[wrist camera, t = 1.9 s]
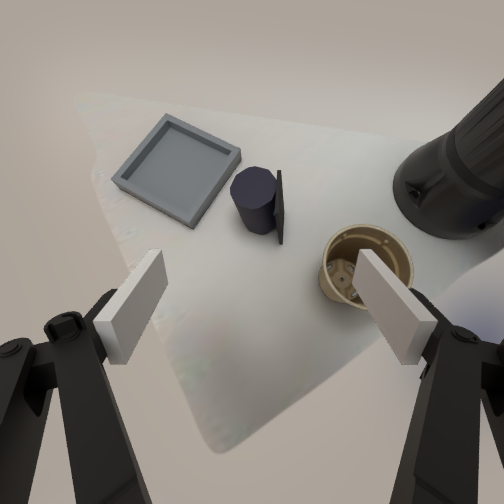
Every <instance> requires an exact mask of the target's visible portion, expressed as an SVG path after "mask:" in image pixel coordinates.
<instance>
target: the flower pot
mask: <svg viewBox="0 0 504 504" xmlns="http://www.w3.org/2000/svg"><path fill="white" fill-rule="evenodd" d="M360 249H372V251H373V252H374V253H375V254H376V255H377V256H378V257H379V258H380V259H381V260H382V261H383V262H384V263H385V265H386V266H387V267H388V268H389V269H390V270H391V271H392V272H393V273H394V274H395V275H396V276H397V277H398V279H399V280H400V281H401V282H402V283H403V284H404V285H405V286H406V287H407V288H411V285H412V282H413V274H414V271H413V264H412V260H411V257H410V255H409V252H408V250H407V249H406V247H405V246H404V245H403V243H402V242H401V241H400V240H399V239H398V238H397V237H396V236H395V235H393V234H391V233H390V232H388V231H386V230H385V229H383V228H380V227H377V226H374V225H367V224H358V225H352V226H348V227H346V228H343V229H342V230H340V231H338V232H337V233H336V234H335V235H334V236H333V237H332V238H331V239H330V240H329V242H328V244H327V245H326V248H325V250H324V254H323V266H322V268H321V270H320V272H319V283H320V287H321V289H322V291H323V292H324V293H325V295H326V296H328V297H329V298H330V299H332V300H334V301H336V302H340V303H348V304H349V305H351V306H353V307H356V308H359V309H362V310H367V311H368V309H367V307H366V306H365V304H364V303H363V301H362V299H361V298H360V296H359V294H358V293H357V294H356V295H355V296H352V294H353V293H354V292H355V291H356V290H355V288H354V286H353V285H352V280H353V276H354V271H353V270H351V268H350V267H349V266H351V267H353V268H354V269H355V267H356V263H357V259H358V254H359V250H360ZM329 265H332V267H331V268H330V269H329V270H328V271H327V266H329ZM341 278H343V279H344V280H343V281H341Z"/></svg>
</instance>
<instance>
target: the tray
mask: <svg viewBox="0 0 504 504" xmlns="http://www.w3.org/2000/svg"><path fill="white" fill-rule="evenodd" d="M240 161H241V149H240V148H238V147H235V146H233V145H231V144H229V143H227V142H225V141H223V140H221V139H219V138H217V137H215V136H213V135H211V134H208V133H206V132H204V131H202V130H200V129H198V128H196V127H194V126H192V125H190V124H188V123H186V122H183V121H181V120H179V119H177V118H175V117H173V116H171V115H169V114H167V113H166V114H165V115H164V116H163V117H162V118H161V120H160V121H159V122H158V123H157V124H156V126H155V127H154V128H153V129H152V130H151V132H150V133H149V134H148V135H147V136H146V138H145V139H144V140H143V141H142V142H141V143H140V145H139V146H138V147H137V148H136V149H135V151H134V152H133V153H132V154H131V155H130V157H129V158H128V159H127V160H126V161H125V163H124V164H123V165H122V166H121V167H120V169H119V170H118V171H117V172H116V173H115V174H114V176H113V177H112V178H111V180H112V181H113V182H114V183H115V184H116V185H117V186H118V187H119V188H120V189H122V190H124V191H125V192H127V193H129V194H131V195H132V196H134V197H136V198H138V199H140V200H141V201H143V202H145V203H147V204H149V205H150V206H152V207H154V208H156V209H158V210H159V211H161V212H163V213H165V214H167V215H168V216H170V217H172V218H174V219H176V220H177V221H179V222H181V223H183V224H185V225H186V226H188V227H190V228H192V229H194V228H195V226H196V225H197V223H198V222H199V221H200V219H201V218H202V216H203V215H204V213H205V212H206V210H207V209H208V207H209V206H210V205H211V203H212V202H213V200H214V199H215V197H216V196H217V194H218V193H219V191H220V190H221V189H222V187H223V186H224V184H225V183H226V181H227V180H228V178H229V177H230V176H231V174H232V173H233V171H234V170H235V168H236V167H237V165H238V164H239V162H240Z"/></svg>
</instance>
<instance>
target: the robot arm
mask: <svg viewBox="0 0 504 504" xmlns="http://www.w3.org/2000/svg"><path fill="white" fill-rule="evenodd" d="M393 190H394V195H395V199H396V201H397V204H398V206H399V207H400V209H401V211H402V212H403V213H404V215H405V216H406V217H407V218H408V219H409V220H410V221H411V222H412V223H413V224H414V225H416V226H417V227H418V228H420V229H422V230H423V231H425V232H427V233H429V234H432V235H434V236H437V237H441V238H446V239H464V238H468V237H472V236H474V235H477V234H479V233H482V232H484V231H486V230H488V229H490V228H492V227H493V226H495V225H496V224H498V223H499V222H500V221H501V220H502V219H503V218H504V79H503V80H502V81H501V82H500V83H499V84H498V85H497V86H496V87H495V88H494V89H493V90H492V91H491V92H490V93H489V94H488V95H487V96H486V97H485V98H484V99H483V100H482V101H481V102H480V103H479V104H478V105H476V106H475V107H474V108H473V110H471V111H470V112H469V113H468V114H467V115H466V116H465V117H464V118H463V119H462V120H461V122H460V123H458V124H457V125H456V126H455V127H454V128H453V129H452V130H451V131H449V132H447V133H446V134H444V135H442V136H440V137H438V138H436V139H434V140H432V141H431V142H429V143H427V144H425V145H423V146H421V147H420V148H418V149H416V150H415V151H414V152H412V153H411V154H410V155H409V156H408V157H407V158H406V160H405V161H404V162H403V163H402V164H401V165H400V166H399V168H398V170H397V171H396V174H395V177H394V182H393ZM167 285H168V280H167V275H166V269H165V264H164V259H163V254H162V249H150V250H149V251H148V252H147V254H146V255H145V256H144V257H143V259H142V260H141V261H140V262H139V264H138V265H137V266H136V267H135V269H134V270H133V271H132V272H131V274H130V275H129V276H128V277H127V279H126V280H125V281H124V282H123V284H122V285H121V286H120V288H119V289H111V290H110V291H108V292H107V293H105V294H104V295H103V296H102V297H101V298H100V299H99V300H98V302H97V303H96V304H95V305H94V306H93V308H91V310H90V311H89V312H88V313H87V314H86V315H85V317H84V318H82V315H81V314H80V313H79V312H75V311H72V312H66V313H62V314H60V315H58V316H55V317H54V318H52V319H51V320H49V321H48V322H47V323H46V325H45V326H44V332H45V333H46V335H47V337H48V339H49V342H44V343H40V344H36V345H33V344H32V342H31V340H29V339H28V338H18V339H14V340H11V341H8V342H6V343H4V344H3V345H1V346H0V504H28V500H29V496H30V491H31V487H32V482H33V477H34V473H35V469H36V465H37V460H38V456H39V451H40V447H41V442H42V437H43V433H44V429H45V424H46V420H47V415H48V411H49V406H50V402H51V397H52V393H53V389H54V388H57V387H58V389H59V396H60V403H61V409H62V416H63V422H64V428H65V434H66V441H67V447H68V454H69V460H70V467H71V473H72V479H73V485H74V492H75V498H76V504H152V502H151V499H150V496H149V493H148V490H147V488H146V485H145V482H144V479H143V476H142V473H141V471H140V468H139V465H138V462H137V460H136V456H135V454H134V451H133V448H132V445H131V442H130V440H129V437H128V434H127V431H126V428H125V426H124V423H123V420H122V417H121V414H120V412H119V409H118V406H117V403H116V400H115V397H114V395H113V392H112V389H111V386H110V383H109V380H108V378H107V375H106V372H105V370H104V367H103V364H102V363H103V362H104V360H105V358H106V357H107V358H108V360H109V363H110V364H127V362H128V360H129V358H130V356H131V354H132V353H133V351H134V348H135V347H136V345H137V343H138V341H139V339H140V337H141V335H142V333H143V331H144V329H145V327H146V325H147V324H148V321H149V320H150V318H151V316H152V314H153V312H154V310H155V308H156V306H157V304H158V302H159V300H160V298H161V297H162V295H163V293H164V291H165V289H166V287H167ZM352 285H353V286H354V288H355V290H356V291H357V293H358V294H359V296H360V298H361V299H362V301H363V303H364V304H365V306H366V307H367V309H368V311H369V312H370V314H371V316H372V317H373V319H374V321H375V322H376V324H377V325H378V327H379V329H380V330H381V332H382V334H383V335H384V337H385V338H386V340H387V342H388V343H389V345H390V346H391V348H392V350H393V352H394V353H395V355H396V356H397V358H398V360H399V361H400V363H401V365H406V364H407V365H410V364H411V365H417V364H418V363H419V361H420V358H421V356H423V358H424V359H425V360H426V362H427V364H426V366H425V368H424V370H423V372H422V374H421V376H420V379H421V384H420V388H419V392H418V395H417V399H416V403H415V407H414V411H413V415H412V418H411V422H410V426H409V430H408V434H407V438H406V442H405V445H404V450H403V453H402V457H401V461H400V465H399V469H398V472H397V476H396V480H395V484H394V488H393V492H392V496H391V499H390V503H389V504H478V469H479V436H480V401H481V400H482V403H483V406H484V409H485V412H486V415H487V419H488V422H489V425H490V428H491V431H492V434H493V437H494V440H495V443H496V447H497V450H498V453H499V456H500V459H501V462H502V465H503V468H504V339H503V340H502V342H501V343H500V345H499V344H495V343H490V342H485V341H481V340H480V339H479V338H478V336H477V335H475V334H474V333H473V332H471V331H469V330H467V329H465V328H463V327H460V326H454V325H452V324H451V323H450V322H449V321H448V320H447V319H446V318H445V317H444V315H443V314H442V313H441V312H440V311H439V310H438V309H436V308H435V307H434V305H433V304H432V303H431V302H429V300H428V299H427V298H426V297H425V296H424V295H423V294H421V293H420V292H418V291H417V290H415V289H413V288H407V287H406V286H405V285H404V284H403V283H402V282H401V281H400V280H399V279H398V277H397V276H396V275H395V274H394V273H393V272H392V271H391V270H390V269H389V268H388V267H387V266H386V265H385V263H384V262H383V261H382V260H381V259H380V258H379V257H378V256H377V255H376V254H375V253H374V252H373V251H372V249H360V250H359V254H358V259H357V263H356V267H355V272H354V276H353V280H352ZM480 399H481V400H480Z"/></svg>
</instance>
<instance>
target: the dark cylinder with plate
mask: <svg viewBox="0 0 504 504" xmlns="http://www.w3.org/2000/svg"><path fill="white" fill-rule="evenodd" d="M230 194H231V196H232V199H233V201H234V203H235V205H236V207H237V209H238V211H239V214H240V216H241V218H242V220H243V222H244V224H245V225H246V227H247V228H248V230H249V231H252V232H255V233H258V234H266V233H268V232H269V231H271V230H272V229H274V228H276V227H277V231H278V237H279V243H280V244H283V226H284V202H283V189H282V177H281V170H277V180H276V179H275V177H274V176H273V175H272V173H271V172H270V171H269V170H267V169H264V168H260V167H256V166H254V167H248V168H247V169H245V170H243V171H242V172H240V173H239V174H237V175H236V176H235V178H234V180H233V182H232V185H231V187H230Z"/></svg>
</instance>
